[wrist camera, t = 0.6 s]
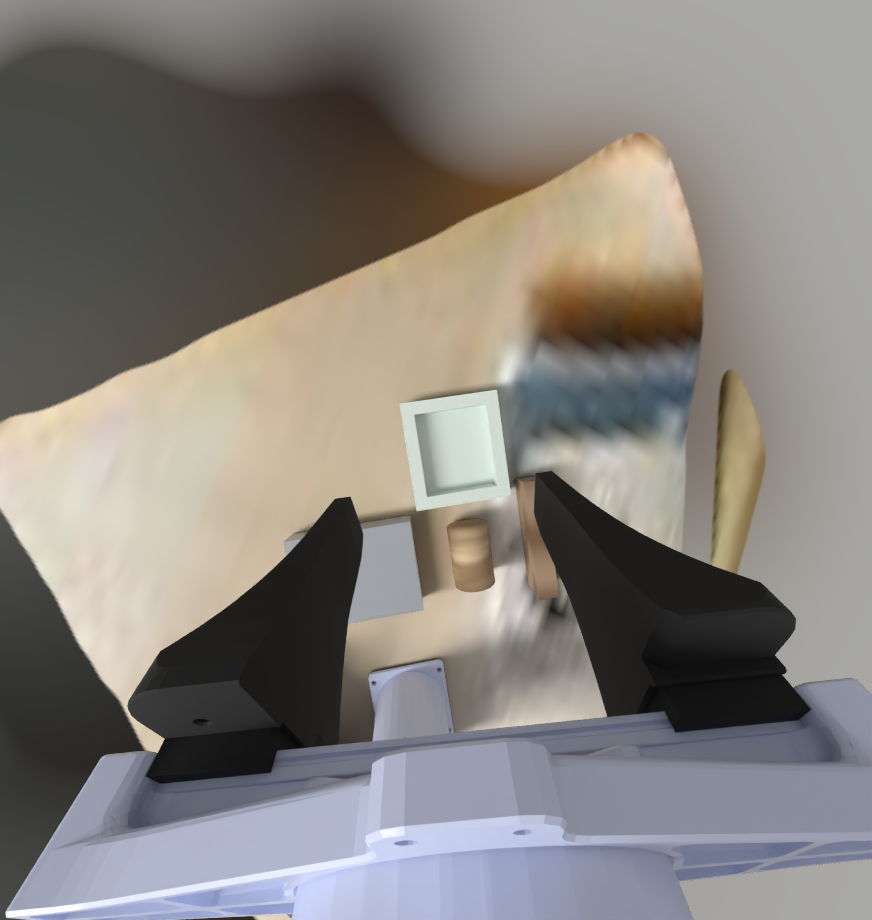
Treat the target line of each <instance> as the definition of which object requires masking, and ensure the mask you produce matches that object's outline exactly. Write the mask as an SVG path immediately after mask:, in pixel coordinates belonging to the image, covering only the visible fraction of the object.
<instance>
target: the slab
mask: <svg viewBox="0 0 872 920" xmlns="http://www.w3.org/2000/svg"><path fill="white" fill-rule="evenodd" d="M360 525H361V528H362V531H363V548H362V558H361V563H360V568H359V573H358V577H357V582H356V586H355V591H354V595H353V600H352V605H351V609H350V614H349V620H348V623H354V622H360V621H365V620H371V619H377V618H382V617H388V616H393V615H399V614H405V613H410V612H416V611H422V610H424V608H423V596H422V589H421V583H420V576H419V570H418V563H417V557H416V550H415V544H414V537H413V531H412V524H411V517H410V515H408V516H401V517H395V518H389V519H383V520H376V521H370V522H364V523H360ZM306 534H307V532H301V533H295V534H292V535H291V536H290V537H289V538H288V539H286V540H285V541H284V548H285V553H286V556H287V555H288V553H289V552H290V551H291V550H292V549H293V548H294V547H295V546H296V545H297V544H298V543H299V542H300V540H301V539H302V538H303V537H304V536H305V535H306Z"/></svg>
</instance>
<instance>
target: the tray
mask: <svg viewBox="0 0 872 920" xmlns="http://www.w3.org/2000/svg"><path fill="white" fill-rule="evenodd" d="M400 410H401V416H402V422H403V429H404V435H405V441H406V447H407V454H408V460H409V466H410V473H411V479H412V485H413V492H414V498H415V504H416V510H417V511H422V510H428V509H434V508H440V507H446V506H452V505H458V504H464V503H470V502H476V501H482V500H488V499H494V498H500V497H506V496H511V491H510V484H509V476H508V469H507V461H506V454H505V446H504V439H503V431H502V424H501V416H500V409H499V401H498V394H497V390H491V391H484V392H477V393H471V394H464V395H457V396H450V397H443V398H436V399H429V400H422V401H415V402H409V403H402V404H400Z"/></svg>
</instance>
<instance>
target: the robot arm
mask: <svg viewBox="0 0 872 920" xmlns="http://www.w3.org/2000/svg"><path fill="white" fill-rule="evenodd" d="M534 516H535V519H536V522H537V525H538V528H539V531H540V534H541V537H542V539H543V542H544V544H545V546H546V548H547V550H548V552H549V554H550V557H551V559H552V561H553V563H554V565H555V567H556V569H557V571H558V574H559V576H560V578H561V580H562V582H563V584H564V586H565V589H566V591H567V593H568V596H569V598H570V601H571V604H572V607H573V609H574V612H575V615H576V618H577V621H578V624H579V627H580V630H581V633H582V636H583V639H584V642H585V645H586V648H587V651H588V654H589V657H590V660H591V663H592V667H593V670H594V673H595V676H596V679H597V683H598V686H599V689H600V693H601V696H602V700H603V703H604V707H605V710H606V713H607V717H604V718H594V719H584V720H575V721H565V722H555V723H545V724H535V725H526V726H516V727H506V728H496V729H486V730H476V731H467V732H457V733H454V730H453V723H452V717H451V711H450V704H449V698H448V692H447V685H446V679H445V673H444V666H443V662H442V660H440V659H437V660H432V661H427V662H422V663H417V664H411V665H406V666H401V667H396V668H391V669H386V670H381V671H376V672H372V673H370V674H369V677H368V681H369V686H370V692H371V698H372V703H373V709H374V714H375V724H374V732H373V740H372V741H368V742H359V743H349V744H339V745H338V739H339V719H340V702H341V688H342V675H343V665H344V654H345V644H346V636H347V627H348V620H349V614H350V609H351V605H352V600H353V595H354V591H355V586H356V582H357V577H358V573H359V568H360V563H361V558H362V548H363V531H362V528H361V525H360V523H359V520H358V517H357V514H356V511H355V508H354V505H353V502H352V500H351V497H345V498H337V499H335V500H334V501H333V502H332V503H331V504H330V506H329V507H328V508H327V509H326V511H325V512H324V513H323V514H322V515H321V517H320V518H319V519H318V520H317V522H316V523H315V524H314V525H313V526H312V528H311V529H310V530H309V531H308V532H307V534H306V535H305V536H304V537H303V538H302V539H301V540H300V542H299V543H298V544H297V545H296V546H295V547H294V548H293V549H292V550H291V551H290V552H289V553H288V555H287V556H286V557H285V558H284V559H283V560H282V561H281V562H280V563H279V564H278V565H277V566H276V567H275V568H273V569H272V570H271V571H270V572H269V573H268V574H267V575H266V576H265V577H264V578H263V579H261V580H260V581H259V582H258V583H257V584H256V585H254V586H253V587H252V588H251V589H249V590H248V591H247V592H246V593H244V594H243V595H242V596H241V597H240V598H238V599H237V600H236V601H235V602H233V603H232V604H231V605H229V606H228V607H227V608H225V609H224V610H223V611H221V612H220V613H218V614H217V615H216V616H214V617H213V618H211V619H210V620H208V621H207V622H206V623H204V624H203V625H201V626H200V627H198V628H197V629H195V630H194V631H192V632H190V633H189V634H187V635H186V636H184V637H182V638H181V639H179V640H178V641H176V642H175V643H173V644H171V645H170V646H168V647H167V648H165V649H163V650H162V651H160V653H159V654H158V656H157V657H156V659H155V660H154V662H153V663H152V665H151V666H150V668H149V670H148V671H147V673H146V674H145V676H144V677H143V679H142V681H141V682H140V684H139V685H138V687H137V688H136V690H135V691H134V693H133V695H132V696H131V698H130V699H129V701H128V706H127V707H128V710H129V712H130V714H131V716H132V717H134V718H135V719H136V720H137V721H138V722H140V723H141V724H143V725H145V726H146V727H148V728H149V729H151V730H152V731H154V732H155V733H157V734H158V735H160V736H161V737H163V738H165V740H164V742H163V744H162V746H161V748H160V750H159V752H158V753H156V752H150V751H139V752H129V753H119V754H109V755H105V756H103V757H102V758H101V759H100V761H99V762H98V764H97V766H96V767H95V769H94V770H93V772H92V774H91V776H90V777H89V779H88V780H87V782H86V784H85V785H84V787H83V788H82V790H81V791H80V793H79V795H78V796H77V798H76V800H75V801H74V803H73V804H72V806H71V808H70V809H69V811H68V812H67V814H66V816H65V817H64V819H63V821H62V822H61V824H60V825H59V827H58V829H57V830H56V832H55V833H54V835H53V837H52V838H51V840H50V842H49V843H48V845H47V846H46V848H45V849H44V851H43V853H42V854H41V856H40V857H39V859H38V861H37V862H36V864H35V866H34V867H33V869H32V870H31V872H30V874H29V875H28V877H27V878H26V880H25V882H24V883H23V885H22V887H21V888H20V890H19V891H18V893H17V895H16V896H15V898H14V899H13V901H12V903H11V904H10V906H9V907H8V909H7V911H6V917H7V918H17V919H27V920H176V919H194V918H215V917H237V916H259V915H280V914H293V915H292V920H694V919H693V916H692V914H691V911H690V909H689V906H688V904H687V901H686V899H685V896H684V894H683V892H682V889H681V887H680V884H679V882H680V881H688V880H696V879H704V878H713V877H721V876H728V875H737V874H745V873H753V872H762V871H770V870H778V869H787V868H795V867H804V866H812V865H820V864H829V863H839V862H848V861H859V860H868V859H872V694H871V693H870V692H869V691H868V690H867V689H866V688H865V687H864V686H863V685H862V684H861V683H860V682H859V681H858V680H856V679H852V678H845V679H836V680H826V681H816V682H808V683H803V684H801V685H798V686H795V687H794V688H793V687H792V686H791V685H790V684H789V682H788V681H787V680H786V679H785V678H784V677H783V675H782V674H785V673H786V668H785V666H784V665H783V664H782V663H781V662H780V661H779V659H778V658H777V657H776V656H775V654H776V653H777V652H778V651H779V649H780V648H781V647H782V646H783V645H784V643H785V642H786V641H787V640H788V639H789V637H790V636H791V634H792V633H793V631H794V630H795V624H796V618H795V617H794V615H793V614H792V612H790V610H789V609H787V607H786V606H784V605H783V604H782V603H781V602H780V601H779V600H778V599H777V598H776V597H775V596H774V595H773V594H772V593H771V592H770V591H769V590H768V589H767V588H766V587H765V586H764V585H763V584H762V583H760V582H758V581H754V580H751V579H749V578H746V577H743V576H740V575H737V574H734V573H731V572H728V571H726V570H723V569H720V568H717V567H714V566H712V565H709V564H707V563H704V562H701V561H699V560H697V559H694V558H692V557H689V556H687V555H685V554H682V553H680V552H678V551H676V550H673V549H671V548H669V547H667V546H665V545H663V544H661V543H659V542H657V541H655V540H653V539H651V538H649V537H647V536H645V535H643V534H641V533H639V532H638V531H636V530H634V529H632V528H631V527H629V526H627V525H625V524H624V523H622V522H620V521H619V520H617V519H615V518H614V517H612V516H611V515H609V514H608V513H606V512H605V511H603V510H602V509H600V508H599V507H597V506H596V505H595V504H593V503H592V502H590V501H589V500H588V499H586V498H585V497H584V496H582V495H581V494H580V493H578V492H577V491H576V490H575V489H573V488H572V487H571V486H570V485H568V484H567V483H566V482H565V481H563V480H562V479H561V478H560V477H558V476H557V475H556V474H555V473H553V472H552V471H549V472H541V473H536V475H535V496H534ZM438 668H441V669H440V670H437V669H438ZM372 681H375V682H376V683H373V682H372ZM449 728H450V729H449Z"/></svg>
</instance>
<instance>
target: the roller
mask: <svg viewBox="0 0 872 920" xmlns="http://www.w3.org/2000/svg"><path fill="white" fill-rule="evenodd" d="M447 532H448V538H449V545H450V551H451V558H452V565H453V571H454V578H455V584H456V587H457V588H458V589H459V590H461V591H465V592H479V591H483V590H486V589H488V588H490V587H491V586H493V585H494V583H495V578H494V570H493V563H492V556H491V549H490V542H489V535H488V528H487V522H486V521H485V520H482V519H466V520H460V521H456V522H453V523H451V524H449V525H448V526H447Z"/></svg>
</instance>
